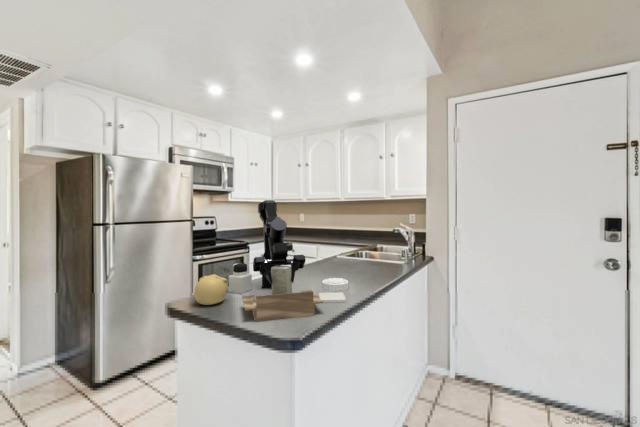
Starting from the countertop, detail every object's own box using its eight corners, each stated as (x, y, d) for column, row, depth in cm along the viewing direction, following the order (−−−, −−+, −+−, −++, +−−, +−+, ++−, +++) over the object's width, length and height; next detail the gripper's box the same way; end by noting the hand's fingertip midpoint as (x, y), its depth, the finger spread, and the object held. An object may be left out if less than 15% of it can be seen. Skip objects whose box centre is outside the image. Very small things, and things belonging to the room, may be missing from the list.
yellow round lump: (231, 298, 127) (231, 272, 127) (217, 308, 116) (217, 279, 115) (205, 297, 129) (204, 271, 129) (188, 307, 117) (188, 278, 117)
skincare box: (292, 299, 114) (292, 266, 113) (287, 303, 110) (286, 268, 109) (276, 297, 116) (276, 264, 115) (270, 301, 112) (270, 267, 111)
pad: (320, 302, 121) (320, 300, 121) (318, 295, 131) (318, 292, 131) (346, 302, 122) (345, 299, 122) (342, 294, 132) (342, 292, 132)
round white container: (317, 289, 142) (317, 281, 142) (330, 283, 152) (330, 276, 152) (340, 293, 136) (340, 284, 135) (352, 286, 146) (352, 278, 146)
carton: (242, 306, 117) (242, 285, 117) (311, 300, 125) (311, 280, 124) (245, 322, 102) (245, 297, 101) (323, 313, 109) (323, 290, 109)
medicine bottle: (252, 289, 140) (251, 262, 140) (241, 294, 134) (241, 265, 134) (239, 288, 143) (238, 261, 143) (228, 292, 137) (228, 264, 137)
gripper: (253, 234, 113) (256, 272, 103) (304, 233, 118) (312, 268, 108) (251, 253, 121) (254, 289, 111) (299, 250, 126) (306, 285, 116)
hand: (282, 283), depth 111 cm, fingers closed on skincare box, 7 cm apart
